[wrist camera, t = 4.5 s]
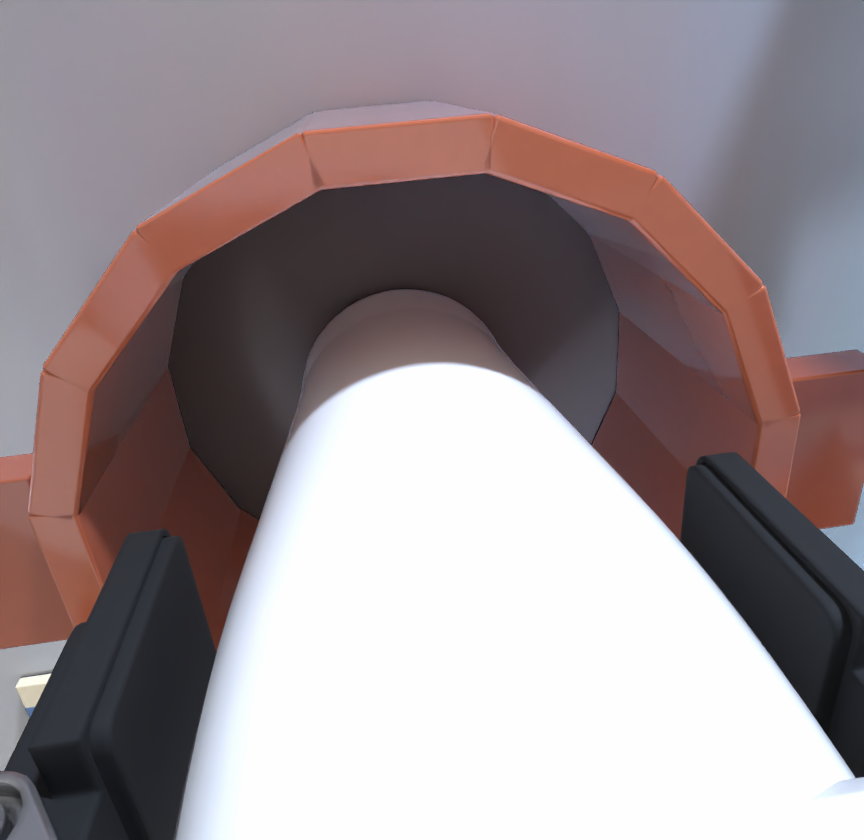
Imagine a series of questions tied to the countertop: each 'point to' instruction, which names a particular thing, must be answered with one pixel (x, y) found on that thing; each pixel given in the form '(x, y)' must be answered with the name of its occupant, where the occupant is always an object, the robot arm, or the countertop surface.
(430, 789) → the drinking glass
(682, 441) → the cooking pot
